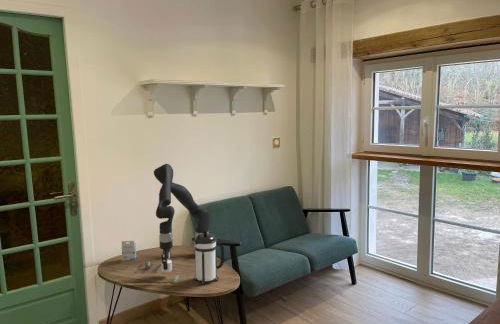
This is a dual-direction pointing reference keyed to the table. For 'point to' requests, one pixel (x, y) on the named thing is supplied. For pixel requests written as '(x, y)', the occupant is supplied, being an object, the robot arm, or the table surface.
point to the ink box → (128, 250)
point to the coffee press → (206, 257)
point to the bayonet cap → (167, 266)
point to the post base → (152, 270)
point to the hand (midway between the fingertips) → (166, 267)
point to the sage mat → (170, 282)
